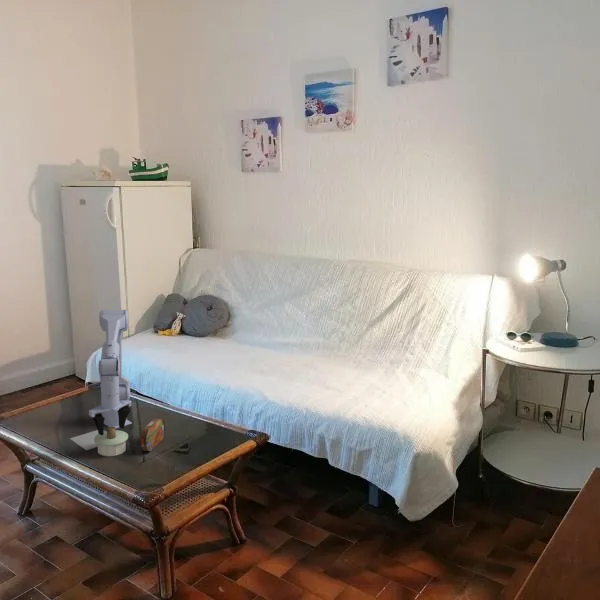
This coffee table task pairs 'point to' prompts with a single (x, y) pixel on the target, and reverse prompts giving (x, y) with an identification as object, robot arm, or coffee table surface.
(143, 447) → the tin
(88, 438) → the mat
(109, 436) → the lid
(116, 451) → the bowl
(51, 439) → the coffee table surface
